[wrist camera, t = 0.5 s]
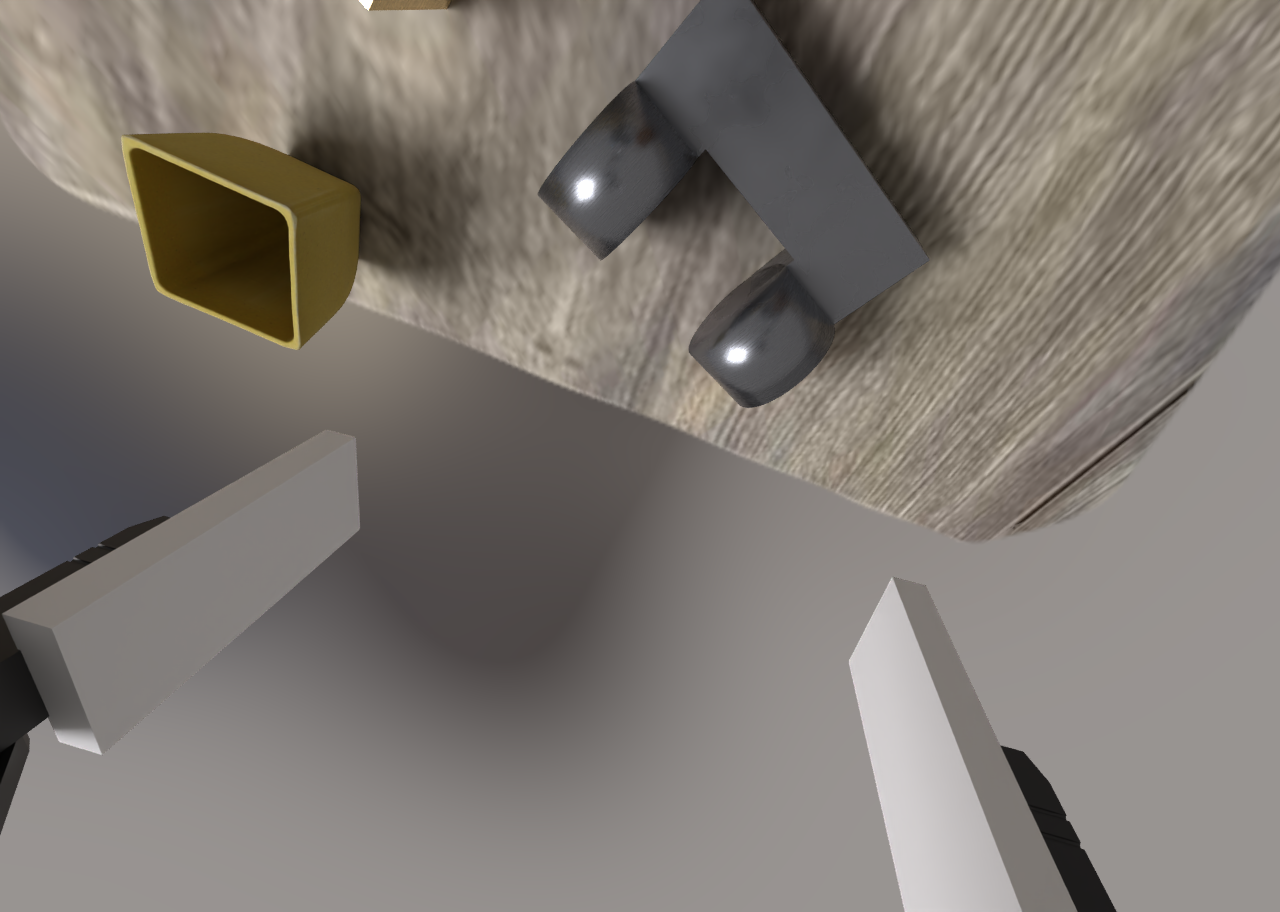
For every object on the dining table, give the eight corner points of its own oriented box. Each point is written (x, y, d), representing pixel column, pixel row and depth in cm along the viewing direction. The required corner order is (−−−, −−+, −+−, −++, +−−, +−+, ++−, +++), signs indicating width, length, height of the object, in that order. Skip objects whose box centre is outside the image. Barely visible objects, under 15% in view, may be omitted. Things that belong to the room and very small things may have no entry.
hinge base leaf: (732, -30, 25) (718, -39, 20) (918, 240, 30) (947, 291, 25) (563, 176, 32) (519, 211, 27) (739, 366, 37) (732, 426, 32)
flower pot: (252, 104, 33) (113, 130, 26) (391, 169, 34) (292, 211, 27) (264, 241, 39) (153, 291, 32) (383, 293, 39) (300, 354, 33)
